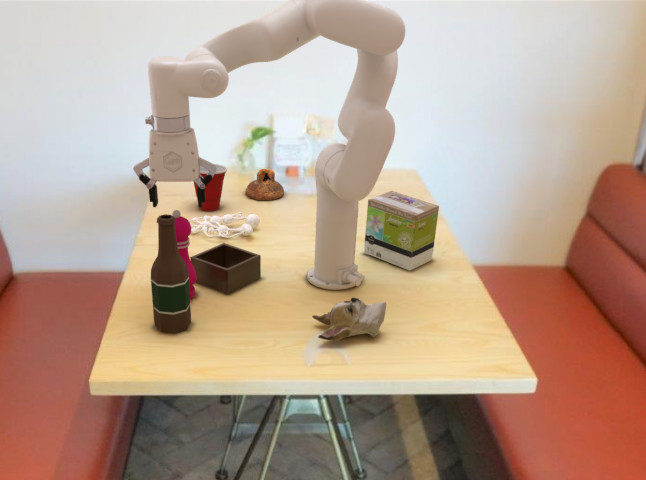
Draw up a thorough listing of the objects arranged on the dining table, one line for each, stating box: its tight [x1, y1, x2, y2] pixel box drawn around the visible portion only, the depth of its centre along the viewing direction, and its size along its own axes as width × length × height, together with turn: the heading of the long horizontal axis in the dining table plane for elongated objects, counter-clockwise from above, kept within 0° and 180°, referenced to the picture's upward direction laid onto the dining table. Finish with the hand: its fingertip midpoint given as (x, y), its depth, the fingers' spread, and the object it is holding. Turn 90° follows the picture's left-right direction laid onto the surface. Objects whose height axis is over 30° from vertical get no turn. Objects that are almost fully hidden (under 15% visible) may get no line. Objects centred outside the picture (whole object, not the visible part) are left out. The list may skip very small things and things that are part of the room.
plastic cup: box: [192, 163, 228, 212], centre depth 228 cm, size 11×11×12 cm
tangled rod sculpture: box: [187, 211, 261, 239], centre depth 215 cm, size 19×14×4 cm
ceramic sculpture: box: [311, 297, 388, 342], centre depth 167 cm, size 11×9×15 cm
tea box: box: [363, 190, 440, 272], centre depth 200 cm, size 15×10×15 cm
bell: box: [245, 168, 285, 201], centre depth 240 cm, size 12×12×7 cm
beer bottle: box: [150, 213, 192, 334], centre depth 164 cm, size 8×8×24 cm
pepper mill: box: [171, 209, 196, 300], centre depth 177 cm, size 7×7×20 cm
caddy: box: [189, 242, 262, 295], centre depth 189 cm, size 12×12×6 cm
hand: (178, 205), depth 171 cm, fingers open, 9 cm apart
